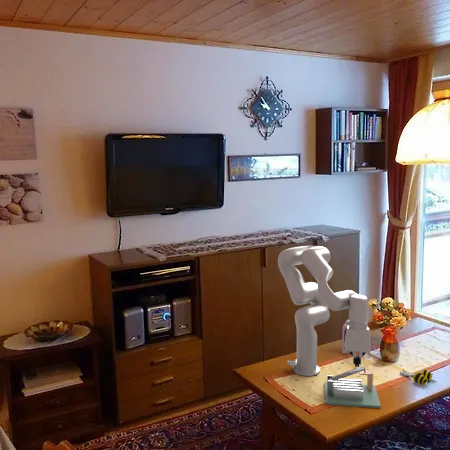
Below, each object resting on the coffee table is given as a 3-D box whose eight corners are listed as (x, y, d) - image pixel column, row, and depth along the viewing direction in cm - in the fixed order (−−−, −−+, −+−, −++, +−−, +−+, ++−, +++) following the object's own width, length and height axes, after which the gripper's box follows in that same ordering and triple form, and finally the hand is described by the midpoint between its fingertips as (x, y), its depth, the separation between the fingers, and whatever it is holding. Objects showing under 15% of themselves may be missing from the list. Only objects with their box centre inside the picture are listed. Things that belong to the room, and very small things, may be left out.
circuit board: (325, 404, 209) (325, 402, 209) (324, 384, 227) (324, 382, 226) (380, 408, 206) (380, 405, 205) (374, 387, 223) (374, 385, 223)
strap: (330, 385, 215) (328, 381, 215) (330, 382, 218) (328, 377, 218) (366, 372, 212) (363, 368, 212) (365, 369, 215) (363, 365, 215)
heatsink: (327, 397, 213) (328, 383, 212) (327, 386, 222) (327, 372, 221) (363, 399, 210) (363, 385, 209) (360, 388, 220) (361, 374, 219)
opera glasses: (422, 388, 224) (425, 378, 222) (411, 382, 227) (414, 372, 226) (432, 380, 230) (434, 371, 229) (421, 375, 234) (423, 366, 232)
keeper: (359, 389, 219) (359, 373, 218) (358, 385, 223) (358, 369, 222) (372, 390, 218) (372, 374, 217) (371, 385, 222) (371, 370, 221)
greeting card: (343, 354, 259) (343, 326, 256) (333, 349, 265) (334, 322, 263) (360, 350, 264) (360, 322, 262) (350, 345, 270) (351, 318, 268)
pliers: (424, 385, 222) (395, 373, 234) (424, 388, 222) (395, 376, 234) (437, 379, 228) (408, 367, 239) (437, 382, 228) (407, 371, 240)
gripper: (340, 326, 208) (339, 368, 211) (377, 328, 206) (376, 370, 209) (339, 320, 216) (338, 361, 218) (375, 322, 213) (374, 362, 216)
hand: (356, 365), depth 214 cm, fingers closed
